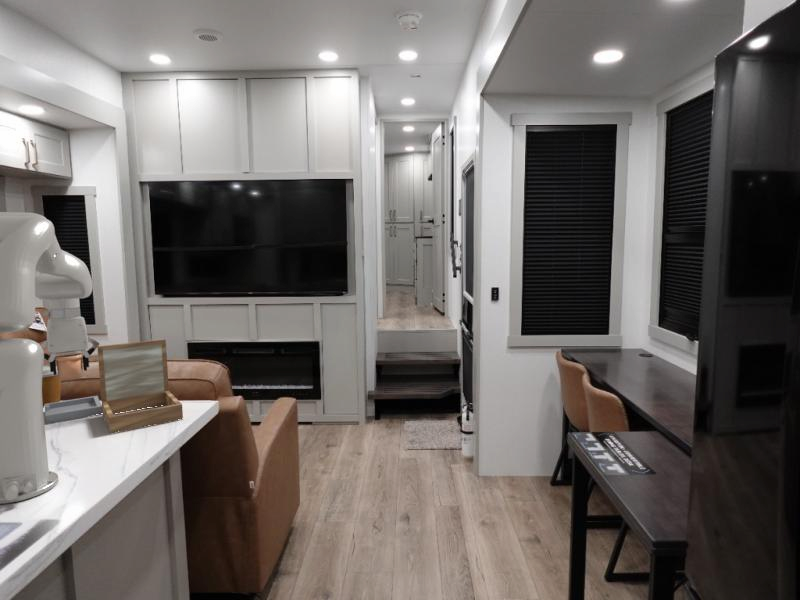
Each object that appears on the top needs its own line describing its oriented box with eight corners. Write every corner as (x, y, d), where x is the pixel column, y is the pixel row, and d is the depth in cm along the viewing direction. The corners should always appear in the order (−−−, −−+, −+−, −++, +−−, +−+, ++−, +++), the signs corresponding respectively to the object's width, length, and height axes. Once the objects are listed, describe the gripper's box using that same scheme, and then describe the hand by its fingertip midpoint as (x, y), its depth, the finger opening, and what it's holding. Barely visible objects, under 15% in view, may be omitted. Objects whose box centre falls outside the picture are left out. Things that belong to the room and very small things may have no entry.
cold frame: (183, 419, 145) (178, 348, 143) (110, 433, 134) (104, 356, 132) (168, 403, 160) (164, 339, 158) (102, 415, 149) (97, 346, 147)
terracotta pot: (85, 377, 150) (83, 355, 150) (57, 382, 146) (54, 358, 145) (83, 373, 156) (82, 351, 155) (56, 377, 152) (54, 354, 151)
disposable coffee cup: (73, 400, 165) (70, 365, 163) (45, 409, 156) (42, 372, 154) (50, 398, 167) (47, 363, 166) (22, 407, 158) (19, 370, 157)
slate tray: (102, 414, 151) (102, 406, 150) (46, 424, 142) (45, 415, 142) (97, 403, 162) (97, 395, 162) (45, 411, 154) (44, 403, 153)
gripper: (29, 318, 141) (35, 379, 143) (100, 312, 151) (104, 369, 153) (29, 315, 147) (34, 374, 149) (97, 310, 157) (102, 365, 159)
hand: (70, 371), depth 151 cm, fingers closed on terracotta pot, 7 cm apart
